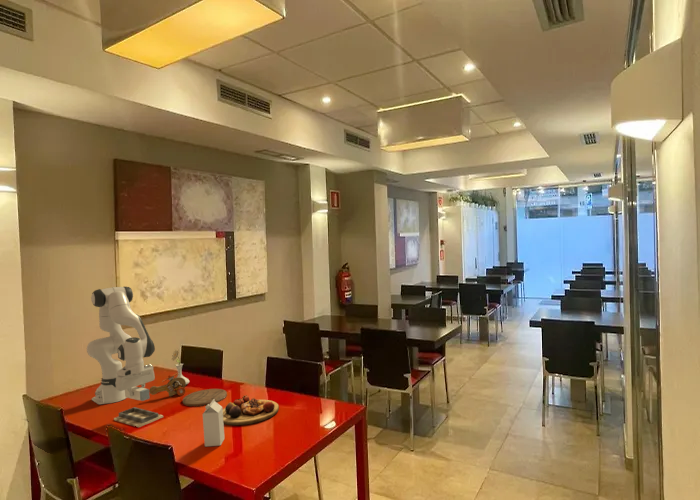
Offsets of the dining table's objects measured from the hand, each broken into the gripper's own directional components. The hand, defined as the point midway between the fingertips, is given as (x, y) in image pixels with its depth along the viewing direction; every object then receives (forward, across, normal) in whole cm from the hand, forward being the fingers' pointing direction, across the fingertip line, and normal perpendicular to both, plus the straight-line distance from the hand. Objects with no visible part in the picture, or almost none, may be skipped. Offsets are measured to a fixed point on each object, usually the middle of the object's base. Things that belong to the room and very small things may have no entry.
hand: (136, 393), depth 231 cm
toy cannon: (+14, -30, -15) cm, 36 cm away
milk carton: (+14, +2, +63) cm, 64 cm away
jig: (+13, 0, 0) cm, 13 cm away
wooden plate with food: (+14, -30, +52) cm, 62 cm away
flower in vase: (+13, -46, -27) cm, 55 cm away
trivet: (+14, -36, +10) cm, 40 cm away
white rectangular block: (+2, 0, 0) cm, 2 cm away
